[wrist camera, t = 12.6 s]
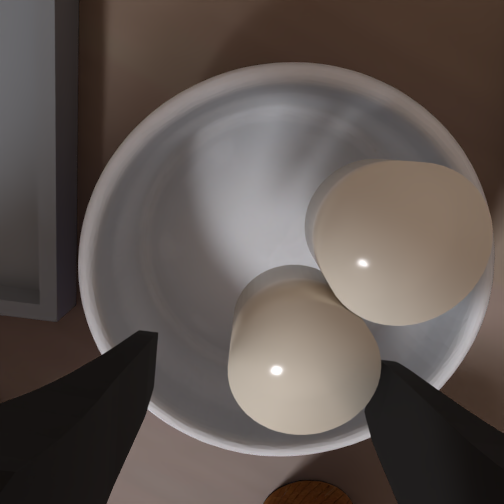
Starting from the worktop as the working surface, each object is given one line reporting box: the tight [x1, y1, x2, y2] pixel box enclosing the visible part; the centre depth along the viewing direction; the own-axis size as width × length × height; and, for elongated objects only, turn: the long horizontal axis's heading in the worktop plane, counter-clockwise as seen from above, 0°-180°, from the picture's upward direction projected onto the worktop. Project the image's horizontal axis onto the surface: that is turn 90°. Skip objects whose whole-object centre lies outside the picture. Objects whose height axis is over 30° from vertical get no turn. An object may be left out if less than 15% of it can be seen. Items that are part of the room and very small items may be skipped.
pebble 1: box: [228, 265, 381, 435], centre depth 12 cm, size 4×4×3 cm
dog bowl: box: [78, 62, 495, 456], centre depth 16 cm, size 15×15×6 cm
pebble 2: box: [305, 159, 493, 326], centre depth 11 cm, size 4×4×3 cm
